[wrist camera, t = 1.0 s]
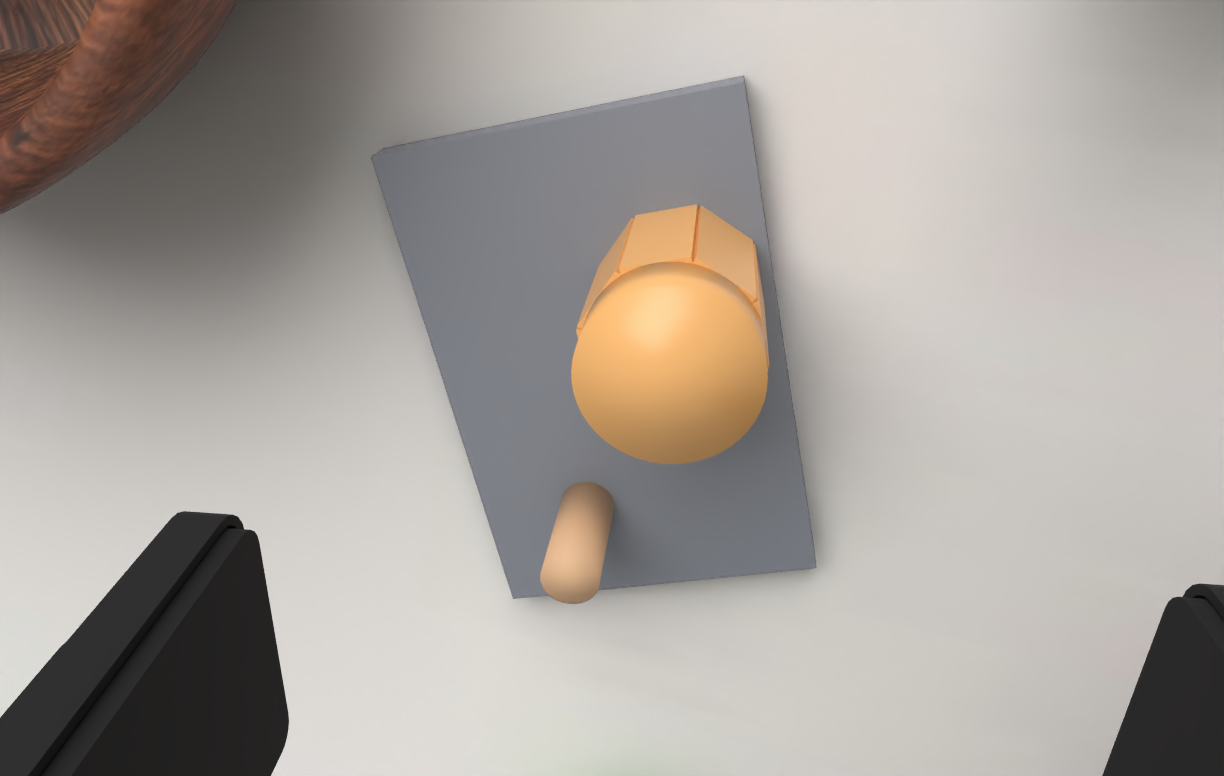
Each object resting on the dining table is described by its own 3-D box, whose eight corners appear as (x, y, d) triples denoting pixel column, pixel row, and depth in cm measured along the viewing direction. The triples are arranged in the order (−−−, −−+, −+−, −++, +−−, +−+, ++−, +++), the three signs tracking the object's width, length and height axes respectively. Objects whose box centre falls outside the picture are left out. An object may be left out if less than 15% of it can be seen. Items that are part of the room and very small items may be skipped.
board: (743, 75, 29) (745, 112, 24) (813, 548, 37) (826, 651, 32) (383, 148, 32) (317, 195, 27) (519, 580, 39) (487, 680, 34)
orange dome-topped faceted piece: (747, 195, 30) (751, 272, 24) (770, 345, 32) (780, 451, 26) (587, 224, 31) (550, 305, 25) (620, 366, 33) (594, 474, 27)
